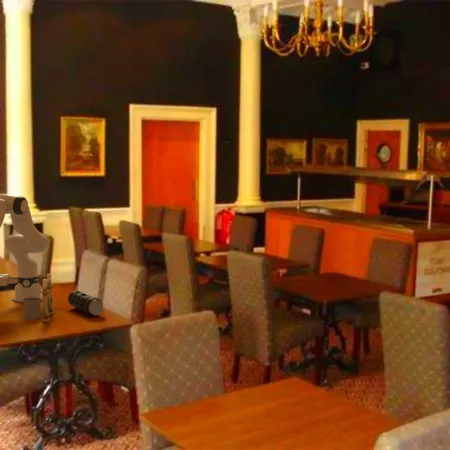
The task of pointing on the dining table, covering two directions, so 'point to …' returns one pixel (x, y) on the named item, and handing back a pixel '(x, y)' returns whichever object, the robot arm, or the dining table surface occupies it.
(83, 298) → the muzzle brake
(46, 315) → the candlestick outer
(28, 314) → the cup
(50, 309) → the candlestick inner
